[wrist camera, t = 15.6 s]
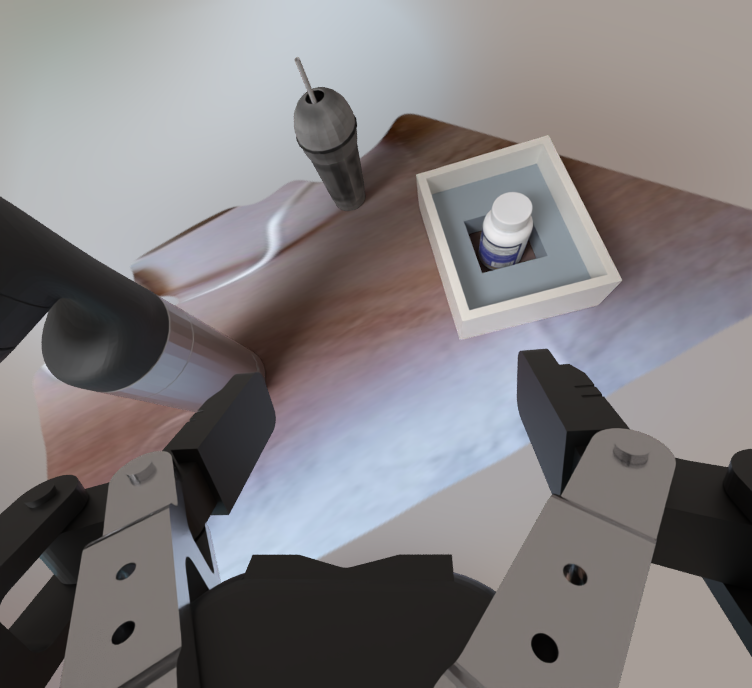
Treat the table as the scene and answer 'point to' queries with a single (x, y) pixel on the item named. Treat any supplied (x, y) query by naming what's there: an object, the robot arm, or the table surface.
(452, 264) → the bore box
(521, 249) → the pill bottle
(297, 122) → the beverage cup
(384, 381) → the table surface
